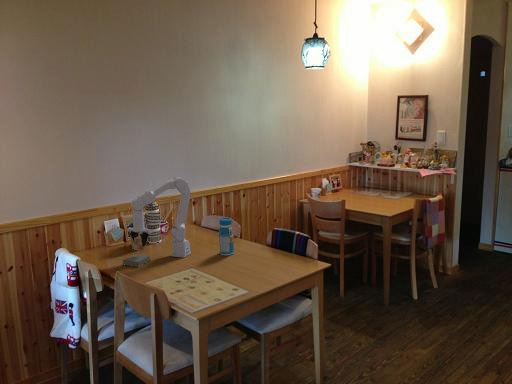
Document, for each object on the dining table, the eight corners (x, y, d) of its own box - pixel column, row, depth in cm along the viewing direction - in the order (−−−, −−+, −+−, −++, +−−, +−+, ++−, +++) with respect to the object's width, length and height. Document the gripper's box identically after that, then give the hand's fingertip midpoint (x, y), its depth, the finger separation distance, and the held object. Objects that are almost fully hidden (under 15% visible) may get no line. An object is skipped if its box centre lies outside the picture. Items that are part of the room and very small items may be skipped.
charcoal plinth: (150, 261, 254) (149, 255, 253) (138, 267, 244) (138, 261, 244) (135, 259, 257) (134, 254, 257) (123, 265, 248) (122, 259, 248)
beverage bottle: (221, 256, 257) (219, 221, 253) (218, 251, 265) (216, 217, 261) (235, 254, 259) (234, 220, 255) (232, 250, 267) (231, 216, 263)
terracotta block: (146, 247, 254) (146, 236, 253) (141, 249, 250) (140, 239, 249) (140, 246, 256) (139, 236, 254) (134, 249, 252) (134, 238, 250)
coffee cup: (143, 251, 271) (141, 226, 268) (127, 251, 271) (125, 226, 268) (147, 246, 280) (145, 222, 277) (132, 246, 280) (129, 222, 278)
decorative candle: (165, 240, 291) (162, 201, 286) (154, 244, 283) (151, 204, 279) (154, 238, 296) (151, 200, 291) (144, 242, 288) (140, 203, 284)
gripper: (122, 221, 249) (124, 246, 251) (145, 223, 243) (147, 248, 246) (131, 218, 255) (133, 242, 258) (153, 220, 250) (154, 244, 252)
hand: (140, 245), depth 252 cm, fingers closed on terracotta block, 4 cm apart
